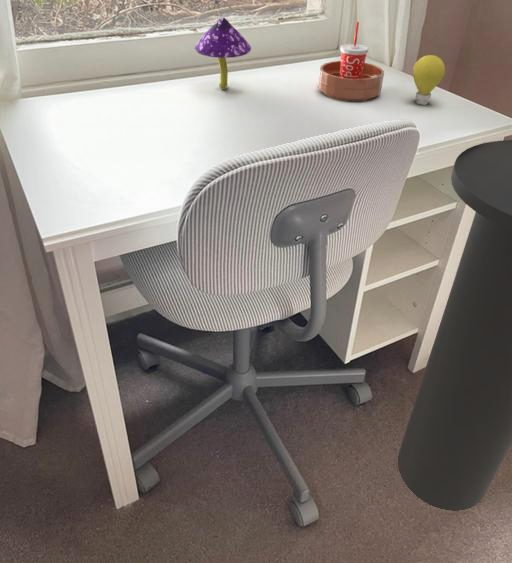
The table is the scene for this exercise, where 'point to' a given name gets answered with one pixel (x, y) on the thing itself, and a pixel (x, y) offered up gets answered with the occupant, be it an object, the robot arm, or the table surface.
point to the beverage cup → (353, 59)
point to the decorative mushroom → (222, 46)
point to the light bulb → (427, 76)
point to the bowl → (350, 82)
